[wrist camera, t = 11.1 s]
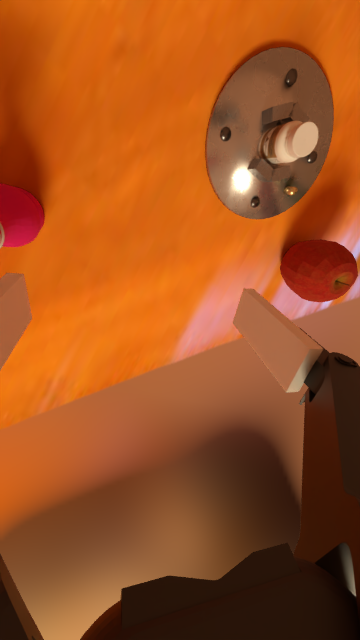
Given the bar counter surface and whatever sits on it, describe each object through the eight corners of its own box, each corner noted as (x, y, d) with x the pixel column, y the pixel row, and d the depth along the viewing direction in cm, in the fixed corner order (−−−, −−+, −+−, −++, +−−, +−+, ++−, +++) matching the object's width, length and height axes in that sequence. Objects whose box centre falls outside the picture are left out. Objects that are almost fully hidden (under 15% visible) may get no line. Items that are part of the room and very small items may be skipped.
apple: (272, 235, 43) (329, 257, 31) (321, 228, 44) (392, 247, 33) (265, 286, 48) (311, 321, 37) (308, 279, 50) (365, 310, 38)
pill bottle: (263, 123, 33) (298, 111, 26) (289, 131, 34) (328, 121, 27) (253, 160, 35) (283, 157, 28) (278, 167, 36) (312, 165, 30)
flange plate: (225, 24, 27) (237, 6, 25) (353, 76, 33) (376, 67, 30) (193, 208, 37) (199, 211, 34) (296, 225, 43) (308, 229, 40)
